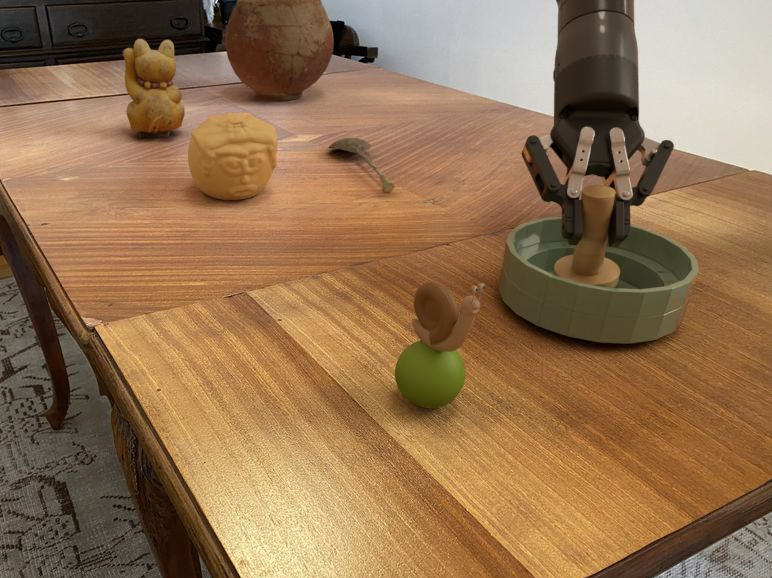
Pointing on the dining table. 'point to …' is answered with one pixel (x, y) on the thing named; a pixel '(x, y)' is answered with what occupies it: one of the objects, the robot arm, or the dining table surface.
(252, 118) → the sculpture
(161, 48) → the decorative figurine
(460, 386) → the snail figurine
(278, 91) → the jug
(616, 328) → the bowl
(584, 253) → the dish brush
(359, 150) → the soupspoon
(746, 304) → the dining table surface
